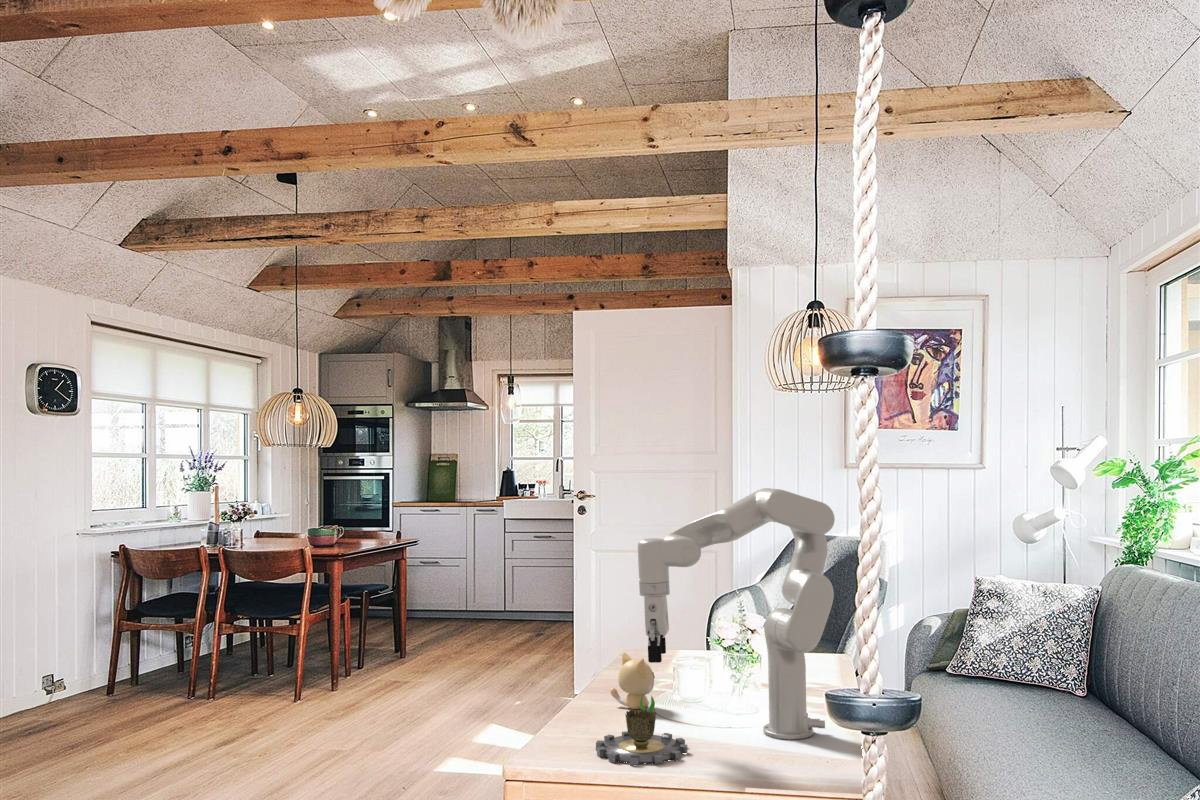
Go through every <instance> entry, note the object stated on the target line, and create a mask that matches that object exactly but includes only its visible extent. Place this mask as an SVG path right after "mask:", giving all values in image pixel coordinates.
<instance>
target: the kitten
mask: <svg viewBox="0 0 1200 800" xmlns="http://www.w3.org/2000/svg"><path fill="white" fill-rule="evenodd" d="M621 657H622V658H621V661H622V662H621V663H622V664H621V667H620V670H619V673H618V686H619V688H620V690H622V691H623V692H625V693H626V694H627V695H626V698H625V699H624V698H623V697H621V696H620V694H619V692H618V690H617V689H616V688H615V687H612V688H611V689H610V691H609V693H610V695H611V696H612V698H614V700H616V702H618V703H619V704H621V705H622V706H625V707H627V708H629V709H630V710H637V709H638V710H641V709H643V711H644V710H645V709H646V708H648V707H649V708H648V710H647V712H648V713H649V711H650V710H651V713H652V712H653V711H655V703H656V701H655V698H654V697H653V695H650V696H651V697H650V699H651V701H649V699H648V698H647V696H646V695H649V694H651V692H652V691H653V690H654V686H655V673H654V671H653V669H652V668H651V666H650V665H649V664H648V663H647V662H646V661H645V659H644V657H643V658H640V659H632V657H631V656H629V655H628V654H627V653H626V652H622V654H621ZM650 702H651V703H650Z"/></svg>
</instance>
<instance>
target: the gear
mask: <svg viewBox="0 0 1200 800" xmlns="http://www.w3.org/2000/svg"><path fill="white" fill-rule="evenodd" d="M603 739H604V740H597V741H596V742H595V751H596V756H597V755H598V756H597V757H599V758H605V757H606V758H605V759H607V758H608V759H607V760H608V762H609V761H610V762H609V763H612V762H614V763H613V764H617V763H620V762H625V763H624V764H627V763H630V764H629V765H630V766H631V765H654V766H659V765H658V764H662V765H664V763H665V762H664V761H668V760H671V761H672V760H675V761H674V762H677V761H676V760H678V759H680V758H681V759H682V755H683V754H682V753H687V754H688V744H686V740H685V739H684V738H683V737H678V738H677V737H676V738H673V734H672V733H669V732H664V733H662V734H661V735H658V734H653V736H652V737H651V738H650V739H649V740H648V742H649V744H648V746H646V747H636V746H635V745H634V743H633V742H634V740H633V739H632V738H631V737H630V736H629V734H628V730H626V731H621V735H619V736H615V735H612V734H607V735H604V737H603ZM681 754H682V755H681ZM681 759H680V760H681ZM618 761H619V762H618ZM678 761H679V760H678ZM616 762H617V763H616ZM626 762H627V763H626ZM668 762H669V761H668ZM644 763H646V764H644ZM652 763H653V764H652Z"/></svg>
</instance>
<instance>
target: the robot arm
mask: <svg viewBox="0 0 1200 800" xmlns="http://www.w3.org/2000/svg"><path fill="white" fill-rule="evenodd" d="M771 522H773V523H778V524H780V525H782V526H783V525H784V526H786V527H788V528H790V530H791V532H792V535H793V539H794V550H793V553H792V557H791V560H790V562H789V566H788V569H787V571H786V575H785V577H784V579H783V580H784V581H783V583H782V588H781V592H782V597H783V598H784V599H785V601H786V602H788V603H790V604H792V605H794V606H793V609H791V608H787V607H782V608H781V607H780V608H776V609H774V610H772V611H770V612H769V614H768V615H767V616H766V619H765V622H764V627H763V628H764V638H765V644H766V649H767V662H768V663H767V668H768V671H767V672H768V673H767V674H768V675H767V676H768V677H767V679H768V680H767V681H768V712H769V713H768V715H769V716H768V718H769V719H768V723H766V724H764V726H763V727H762V728H763V729H762V732H763V733H764V735H767V736H769V737H771V738H775V739H780V740H802V739H807V738H811V737H812V736H813V734H814V728H817V729H826V721H825V720H821V719H820V718H811V717H809V716H808V715H809V714H808V711H807V679H806V677H807V675H806V674H807V673H806V672H807V669H806V668H807V667H806V658H805V657H806V656H805V654H806V653H809V652H811V651H813V650H814V649H815V648H816V647H817V645H818V644H819V643H820V641H821V638H822V636H823V633H824V631H825V627H826V624H827V621H828V618H829V616H830V613H831V610H832V606H833V603H834V598H835V597H834V595H835V594H834V586H833V584H832V582H831V581H830V580H829V578H828V577H827V576H825V574H824V575H823V572H824V568H825V565H826V562H827V558H828V541H827V537H826V534H827V533H828V532H830V531H831V530H832V529H833V527H834V524H835V513H834V511H833V509H832V508H831V507H830V506H829V505H828V504H827V503H825V502H823V501H818V500H815V499H813V498H809V497H806V496H803V495H800V494H796V493H793V492H790V491H787V490H785V489H782V488H781V489H780V488H770V487H769V488H768V487H767V488H766V487H765V488H760V489H758V490H756V491H754V492H752V493H750V494H748V495H746V496H744V497H743V498H741V499H739V500H737V501H735V502H733V503H732V504H730V505H728V506H726V507H723V508H722V509H720V510H718V511H716V512H713V513H711V514H710V513H709V514H708V515H706V516H703V517H701V518H699V519H696V520H694V521H691V522H688V523H687V524H685V525H683V526H681V527H679V528H677V529H675V530H674V531H672V532H670V533H669V534H667V535H665V536H664V538H657V537H655V538H643V539H641V540H640V541H639V542H638V543H637V565H638V582H639V584H638V585H639V587H638V588H639V596H641V597H644V598H643V603H644V604H643V606H644V626H645V635H646V636H647V639H648V640H647V658H648V663H655V664H656V663H657V664H658V663H662V658H663V657H662V655H664V654H666V653H667V651H666V650H667V648H666V647H667V646H666V645H667V644H666V643H667V642H666V636H667V634H668V632H669V630H670V624H669V612H668V601H667V600H668V598H667V596H669V595H671V594H670V590H671V589H670V572H669V570H670V569H669V567H673V568H674V567H677V568H689V567H693V566H694V565H696V564H697V563H698V562H699V560H700V558H701V556H702V549H704V548H707V547H710V546H713V545H718V544H725V543H731V542H734V541H737V540H740V539H741V538H742V537H745V536H747V535H748V534H750V533H752V532H753V531H755V530H757V529H759V528H760V527H763V526H765V525H766V524H767V523H771Z"/></svg>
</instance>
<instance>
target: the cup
mask: <svg viewBox="0 0 1200 800" xmlns="http://www.w3.org/2000/svg"><path fill="white" fill-rule="evenodd" d="M648 711H649V710H647V708H645V710H644V711H643V709H635V710H634V709H630V710H629V711H628V710H626V712H625V714H624V715H625V720H626V721H625V722H626V728H627V730H626V731H628V734H629V736H630V737H631V738H632V739H633V740H634V742H633V743H634V745H635V746H636V747H646V746H648V744H649V742H648V740H649V739H650V738H651V737H652V736H653V735H654V733H655V728H656V727H655V726H656V717H657V713H656V711H655V710H654V711H653V712H652V713H651V710H650V711H649V713H648Z"/></svg>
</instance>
